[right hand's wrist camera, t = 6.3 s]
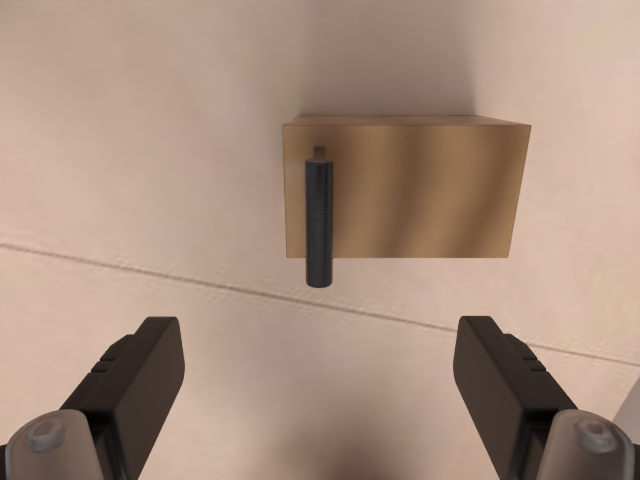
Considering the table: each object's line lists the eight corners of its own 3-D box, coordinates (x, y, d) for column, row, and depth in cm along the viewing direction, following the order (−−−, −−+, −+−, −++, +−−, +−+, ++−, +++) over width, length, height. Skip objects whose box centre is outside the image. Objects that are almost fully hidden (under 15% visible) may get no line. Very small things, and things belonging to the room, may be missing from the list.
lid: (287, 253, 30) (276, 307, 23) (283, 124, 27) (269, 137, 19) (502, 253, 30) (562, 307, 23) (525, 123, 27) (603, 138, 19)
